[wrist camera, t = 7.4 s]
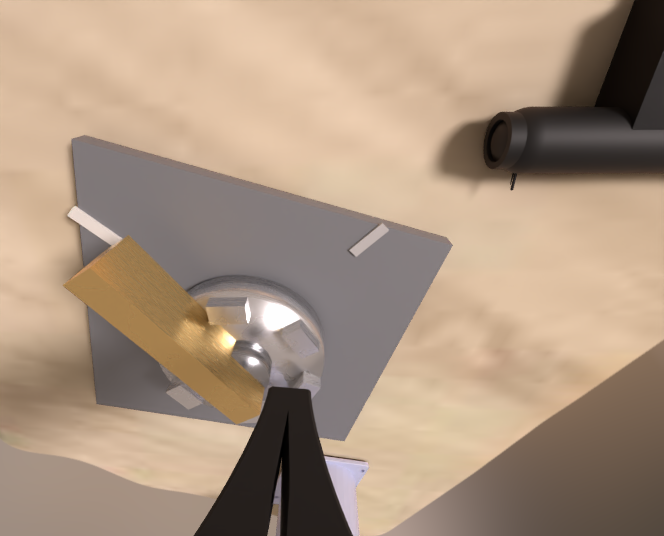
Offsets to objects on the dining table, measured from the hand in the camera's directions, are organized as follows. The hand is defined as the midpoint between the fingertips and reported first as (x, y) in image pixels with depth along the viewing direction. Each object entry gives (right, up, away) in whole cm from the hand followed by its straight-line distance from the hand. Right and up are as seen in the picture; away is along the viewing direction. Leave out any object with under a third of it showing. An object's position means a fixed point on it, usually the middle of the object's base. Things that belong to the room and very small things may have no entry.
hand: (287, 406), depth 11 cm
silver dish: (-5, +2, +9) cm, 11 cm away
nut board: (-4, +1, +11) cm, 12 cm away
